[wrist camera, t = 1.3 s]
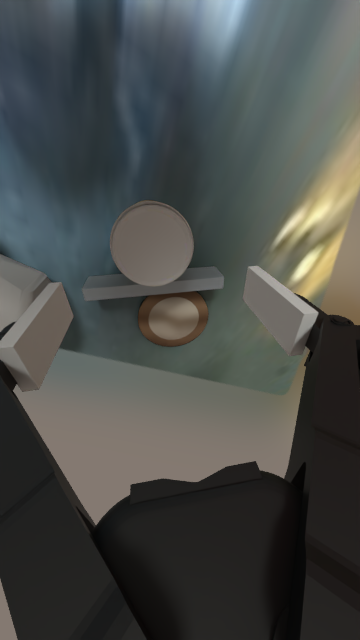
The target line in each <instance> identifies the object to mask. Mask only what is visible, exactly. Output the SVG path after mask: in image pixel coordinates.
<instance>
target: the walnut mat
mask: <svg viewBox="0 0 360 640" xmlns="http://www.w3.org/2000/svg"><path fill="white" fill-rule="evenodd" d="M207 321H208V308H207V305H206V303H205V301H204V299H203V298H202V297H201V295H200V294H199V293H197V292H196V291H190V292H179V293H168V294H157V295H148V296H147V297H146V298H145V300H144V301H143V303H142V304H141V306H140V309H139V313H138V324H139V328H140V330H141V332H142V333H143V335H144V336H145V337H146V338H147V339H148V340H150V341H151V342H153V343H155V344H158V345H161V346H179V345H183V344H186V343H188V342H190V341H192V340H194V339H195V338H196V337H197V336H199V335H200V334H201V332H202V331H203V330H204V328H205V326H206V324H207Z"/></svg>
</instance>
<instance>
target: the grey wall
mask: <svg viewBox="0 0 360 640" xmlns="http://www.w3.org/2000/svg"><path fill="white" fill-rule="evenodd" d="M223 284H224V276H223V275H222V274H221V273H220V271H219V270H218V269H217V268H216V267H215V266H212V267H199V268H187V269H186V270H185V271H184V273H183V274H182V275H181V276H180V277H178V278H177V279H176V280H174V281H173V282H171V283H168V284H166V285H162V286H155V287H154V286H144V285H141V284H138V283H135V282H133V281H132V280H130V279H129V278H127V277H126V276H125V275H124V274H113V275H100V276H88V278H87V280H86V282H85V284H84V286H83V288H82V292H83V295H84V298H85V301H93V300H103V299H114V298H125V297H136V296H147V295H157V294H168V293H179V292H190V291H200V290H211V289H222V288H223Z"/></svg>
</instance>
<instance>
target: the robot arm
mask: <svg viewBox="0 0 360 640" xmlns="http://www.w3.org/2000/svg"><path fill="white" fill-rule="evenodd" d="M243 300H244V302H245V303H246V304H247V305H248V307H249V308H250V309H251V310H252V311H253V313H254V314H255V315H256V316H257V317H258V319H259V320H260V321H261V322H262V323H263V325H264V326H265V327H266V328H267V329H268V331H269V332H270V333H271V334H272V336H273V337H274V338H275V339H276V340H277V342H278V343H279V344H280V345H281V346H282V348H283V349H284V350H285V351H286V352H287V354H288V355H289V356H294V355H301V354H303V351H304V349H305V346H306V347H307V348H308V349H309V350H310V352H309V355H308V357H307V359H306V362H305V364H304V366H306V370H305V376H304V381H303V387H302V393H301V398H300V404H299V410H298V415H297V421H296V426H295V433H294V438H293V443H292V449H291V455H290V460H289V465H288V469H287V472H286V475H285V478H284V479H283V478H281V477H279V476H277V475H275V474H272V473H269V472H265V471H260V470H259V468H258V465H257V463H256V461H254V462H249V463H244V464H238V465H233V466H228V467H225V468H224V469H221V470H220V471H218V472H216V473H214V474H212V475H210V476H209V477H207V478H205V479H203V480H201V481H199V482H186V481H178V480H170V479H158V480H153V481H148V482H142V483H137V484H132V485H131V489H130V490H131V492H130V495H129V496H127V497H125V498H124V499H122V500H121V501H119V502H118V503H117V504H116V505H114V506H113V507H112V508H111V509H110V510H109V511H108V512H107V513H106V514H105V515H104V516H103V517H102V519H101V520H100V521H99V523H98V524H97V525H95V523H94V522H93V520H92V519H91V517H90V516H89V514H88V513H87V511H86V510H85V509H84V507H83V505H82V504H81V502H80V500H79V499H78V497H77V495H76V494H75V492H74V491H73V489H72V487H71V486H70V484H69V482H68V481H67V479H66V477H65V476H64V474H63V472H62V471H61V469H60V467H59V466H58V464H57V462H56V461H55V459H54V457H53V456H52V454H51V452H50V451H49V449H48V448H47V446H46V444H45V443H44V441H43V440H42V438H41V436H40V434H39V433H38V431H37V430H36V428H35V426H34V424H33V423H32V421H31V419H30V418H29V416H28V414H27V413H26V411H25V409H24V408H23V406H22V405H21V403H20V401H19V400H18V398H17V396H16V395H15V393H14V392H13V389H14V388H15V386H16V384H17V385H18V386H19V387H20V389H21V390H22V392H24V391H31V390H39V388H40V386H41V384H42V382H43V380H44V378H45V376H46V374H47V372H48V370H49V368H50V365H51V363H52V361H53V359H54V357H55V355H56V353H57V351H58V349H59V346H60V344H61V342H62V340H63V338H64V336H65V334H66V332H67V330H68V328H69V325H70V323H71V321H72V319H73V317H74V316H73V313H72V310H71V308H70V305H69V302H68V299H67V297H66V294H65V291H64V288H63V286H62V283H61V282H56V283H49V284H48V285H47V286H46V287H45V289H44V290H43V291H42V292H41V293H40V294H39V296H38V297H37V298H36V299H35V300H34V302H33V303H32V304H31V305H30V306H29V307H28V309H27V310H26V311H25V312H24V313H23V314H22V316H21V317H20V318H19V319H18V320H17V322H12V323H11V324H9V325H8V326H6V327H5V328H3V330H2V331H1V332H0V579H1V582H2V586H3V589H4V593H5V596H6V600H7V603H8V607H9V610H10V614H11V617H12V621H13V624H14V628H15V631H16V635H17V638H18V640H360V325H354V323H353V322H352V321H351V320H349V319H347V318H345V317H342V316H339V315H327V314H326V313H324V312H323V311H322V310H320V309H319V308H318V307H316V306H315V305H313V304H312V303H311V302H309V301H308V300H307V299H305V298H304V297H303V296H300V295H298V294H296V293H292V292H291V291H290V290H289V289H287V288H286V287H285V286H283V285H282V284H281V283H279V282H278V281H277V280H276V279H274V278H273V277H272V276H270V275H269V274H268V273H266V272H265V271H264V270H263V269H261V268H260V267H259V266H250V267H248V270H247V276H246V282H245V289H244V295H243Z"/></svg>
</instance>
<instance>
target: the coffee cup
mask: <svg viewBox="0 0 360 640" xmlns="http://www.w3.org/2000/svg"><path fill="white" fill-rule="evenodd" d="M110 249H111V254H112V257H113V260H114V262H115V264H116V266H117V267H118V269H119V270H120V271H121V272H122V273H123V274H124V275H125V276H126V277H127V278H129V279H130V280H132V281H133V282H135V283H138V284H141V285H144V286H154V287H155V286H162V285H166V284H168V283H171V282H173V281H174V280H176V279H177V278H178V277H180V276H181V275H182V274H183V273H184V271H185V270H186V269H187V267H188V266H189V264H190V261H191V259H192V255H193V250H194V241H193V235H192V232H191V229H190V226H189V224H188V223H187V221H186V220H185V218H184V217H183V216H182V215H181V214H180V213H179V212H178V211H177V210H176V209H174V208H173V207H171V206H169V205H167V204H164V203H161V202H156V201H153V200H144V201H140V202H138V203H136V204H134V205H132V206H130V207H129V208H127V209H126V210H125V211H123V212H122V213H121V214H120V216H119V217H118V218H117V220H116V221H115V223H114V226H113V228H112V231H111V236H110Z"/></svg>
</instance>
